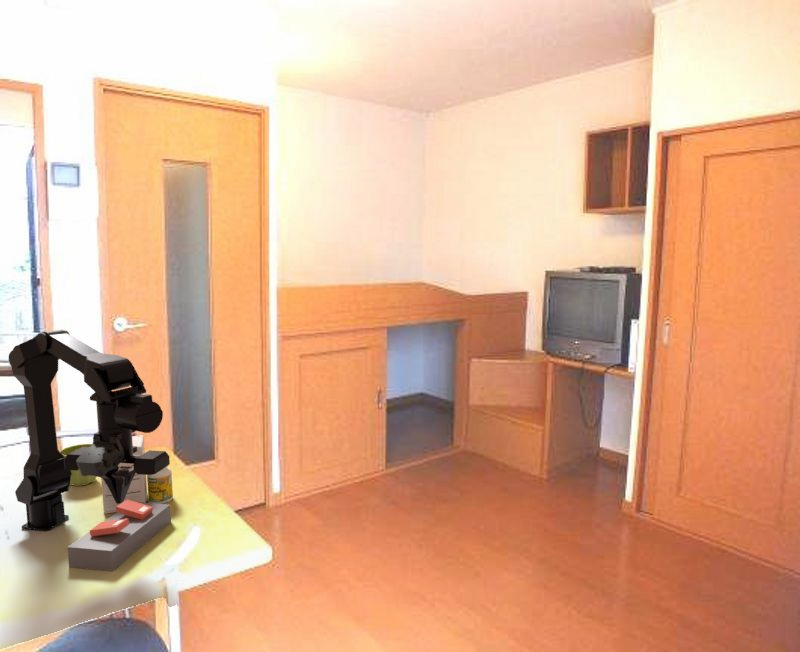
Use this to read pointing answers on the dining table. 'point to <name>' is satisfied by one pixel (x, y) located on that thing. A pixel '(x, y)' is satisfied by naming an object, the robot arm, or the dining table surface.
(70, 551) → the long grey block
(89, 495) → the dining table surface
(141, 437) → the supplement box
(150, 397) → the robot arm
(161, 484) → the supplement bottle
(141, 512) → the rocker back
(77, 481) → the plant pot
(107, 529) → the block
